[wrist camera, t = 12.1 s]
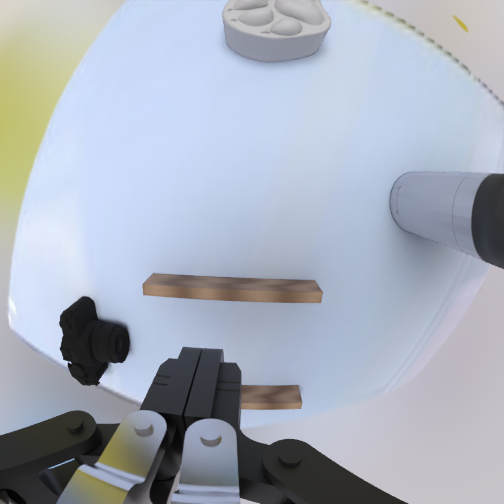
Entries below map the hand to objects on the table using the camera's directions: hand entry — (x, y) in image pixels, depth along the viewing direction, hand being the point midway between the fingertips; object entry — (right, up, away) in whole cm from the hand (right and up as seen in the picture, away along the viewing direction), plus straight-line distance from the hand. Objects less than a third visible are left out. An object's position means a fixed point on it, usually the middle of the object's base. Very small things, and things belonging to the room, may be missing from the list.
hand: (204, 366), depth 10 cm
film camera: (-23, -10, +31) cm, 40 cm away
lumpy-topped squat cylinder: (+4, +35, +20) cm, 41 cm away
